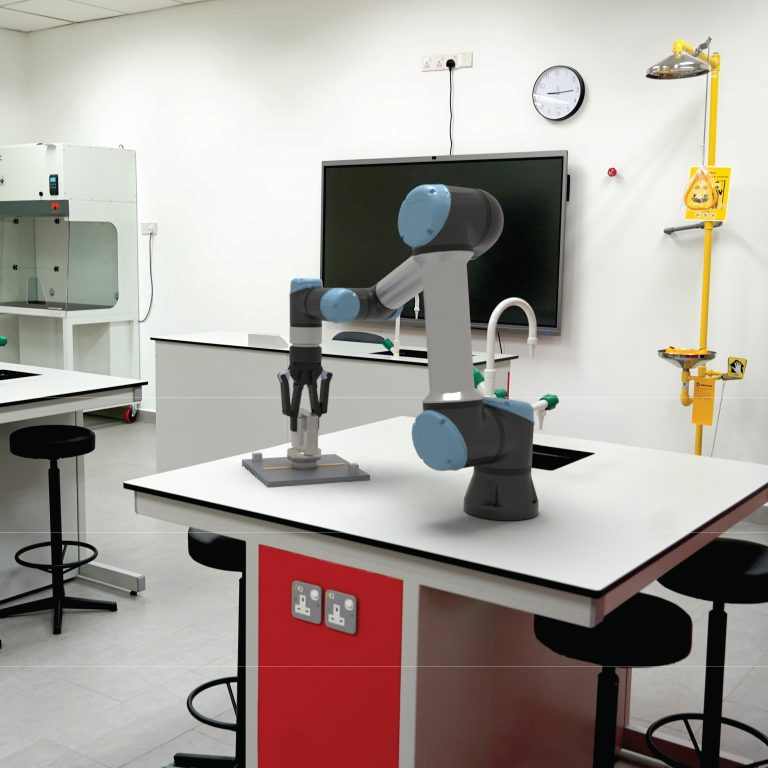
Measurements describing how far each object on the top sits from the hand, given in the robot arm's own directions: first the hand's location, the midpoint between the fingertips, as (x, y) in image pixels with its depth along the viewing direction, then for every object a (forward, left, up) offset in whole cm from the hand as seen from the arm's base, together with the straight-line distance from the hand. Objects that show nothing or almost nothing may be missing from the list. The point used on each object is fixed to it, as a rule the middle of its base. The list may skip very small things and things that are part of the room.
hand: (304, 444), depth 213 cm
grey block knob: (0, 0, -3) cm, 3 cm away
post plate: (0, 0, -7) cm, 7 cm away
